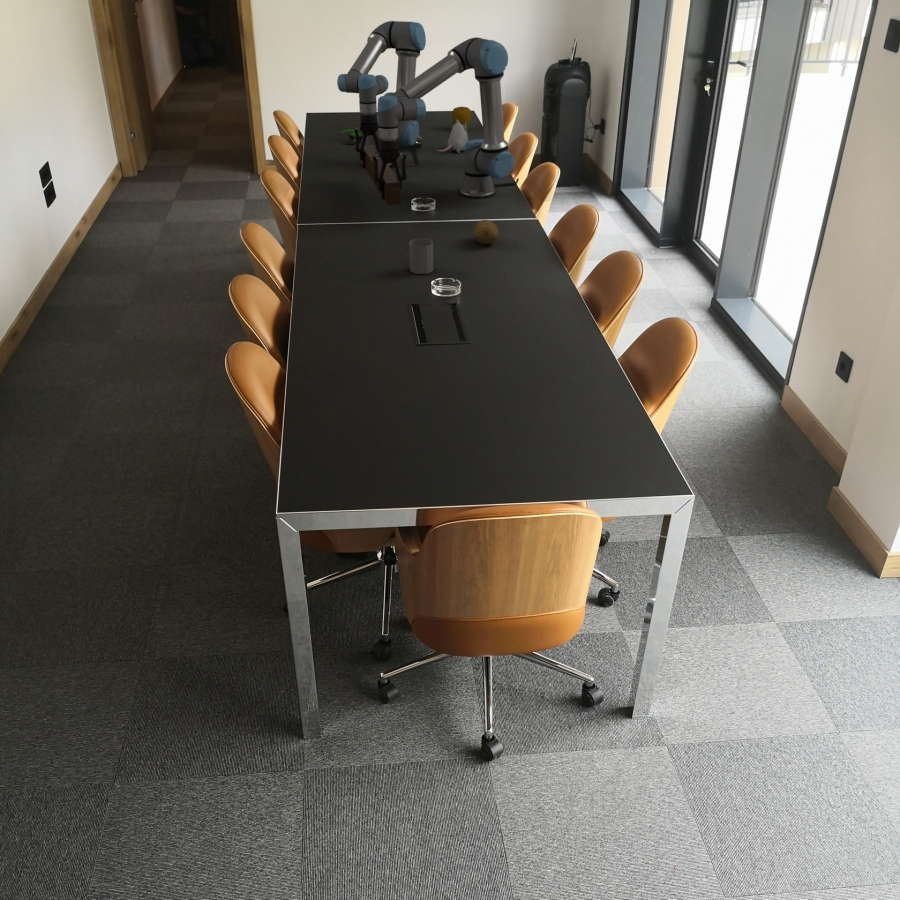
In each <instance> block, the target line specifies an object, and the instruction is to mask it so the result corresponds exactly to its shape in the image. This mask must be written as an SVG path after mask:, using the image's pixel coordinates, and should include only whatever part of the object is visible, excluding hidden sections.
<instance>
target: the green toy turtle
mask: <svg viewBox="0 0 900 900" xmlns="http://www.w3.org/2000/svg"><path fill="white" fill-rule="evenodd" d="M344 132H349V133H347V136H348V137H347V139H348V140H350V141H345V140H342V139H338V141H340V142H342V143H344V144H345V145H346V144H347V145H355V132H354V128H345V129H344V130H340V131H339V134H342V133H344ZM358 134H359V142H360V141H362V137H363V132H359V133H358Z"/></svg>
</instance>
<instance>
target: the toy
mask: <svg viewBox="0 0 900 900" xmlns="http://www.w3.org/2000/svg"><path fill="white" fill-rule="evenodd" d="M467 141H469V136H468V128H467V124H466V123H465V126H464V125H461V124H460V122H459V121H458V120H456V124H454V125H452V128H451V131H450V134H449V138H448V139H447V147H446V148H444V149H436V151H437V152H442V153H444V152H446V151H449V152H452V151H456V153H458V154H461V152H462V151H463V152H465V151H464V150H465V143H466V142H467Z"/></svg>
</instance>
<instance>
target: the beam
mask: <svg viewBox="0 0 900 900" xmlns="http://www.w3.org/2000/svg"><path fill="white" fill-rule="evenodd" d="M363 152H364V153H365V168H364V169H365V171H366V173H367V175H368V176H369V177H370V179H371V181H372V183H373V184H374V185H375V187H376V188H377V191H378V192H379V194H380V195H381V191H380V190H379V185H378V182H375V180H374V161H373V158H372V155H377V154H378V153H379V152H378V150H377V149H376V148H375V146H374V145H365V146H364V150H363ZM377 162H378V178H379V174H380V170H381V166H382V159H381V158H380V157H379V158H378V161H377ZM395 174H396V173H394V171H393V170H392V169H391V167H389V166H388V165H386V168H385V172H384V176H383V180H382V181H383V182H384V196H385V199H384V200H383V201H384V202H385V203H386V205H387V206H392V205H393V206H394V205H401V204H402V199H401V198H402V196H401V195H402V194H401V190H400V181H399V180H398V178H397V175H395Z"/></svg>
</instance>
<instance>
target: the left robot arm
mask: <svg viewBox="0 0 900 900" xmlns="http://www.w3.org/2000/svg"><path fill="white" fill-rule="evenodd" d="M366 41H367V42H366V44H365V45H364V47H363V48H362V50H361V52H360V53H359V55H358V57H357V58H356V59H355V61H354V62H353V64H352V65H351V67H350V69H349V70H348V71H347V73H341V74H338V76H337V80H336V84H337V89H338V90H339V92H341V93H347V94H358V102H359V103H358V104H359V113H360V114H359V122H360V123H359V126H358V127H354V128H353V129H354V132H355V144H354V146H355V147H354V149H355V152H356V153H359V160H360V161H361V166H362V168H363V169H365V153H364V152H363V150H364V146H365V145H374V146H375V148H376V149H377V150H378V152H379V140H380V138H379V122H378V110H377V109H378V101H377V96H379V95H384V93H386V92H387V91H388V89H389V80H388V78H387V77H386V76H385V75H383V74H376V75H374V74H369V73H370V71H372V68H373V67H374V65H375V64H376V62H377V60H378V59H379V57H380V56H381V54H384V53H385V52H386V51H387V50H389V49H392V50H393V49H394V50H395V51H394V53H395V54H396V56H397V69H396V82H395V83H396V84H395V85H396V87H395V92H396V91H397V90H399V89H400V88H402V87H403V86H404V85H406V84H407V83H409V82H410V81H412V80H413V79H414V78H416V72H417V71H416V70H417V59H418V58H419V57H420V56H421V52H422V51H424V50H425V48H426V44H427V36H426V31H425V29H424V26H423V25H422V23H420V22H416V21H405V20H404V21H403V20H402V21H400V20H388V21H385V22H383V23H381V24H379V25H377V27H375V28H374V29H373V30H372V31H371V32H370V34H369V36H368V37H367V40H366ZM419 124H420V123H419V122H418V120H408V121H400V122H398V138H397V139H398V147H413V145H414V144H415V143H416V142H417V140H418V138H419V134H420V125H419ZM360 131H361V132H360ZM359 132H360V133H362V134H363V137H362V140H361V142H360V141H359V134H358V133H359ZM387 165H388V166H389V167H390V168H391V167H392V166H394V165H393V163H389V164H387Z"/></svg>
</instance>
